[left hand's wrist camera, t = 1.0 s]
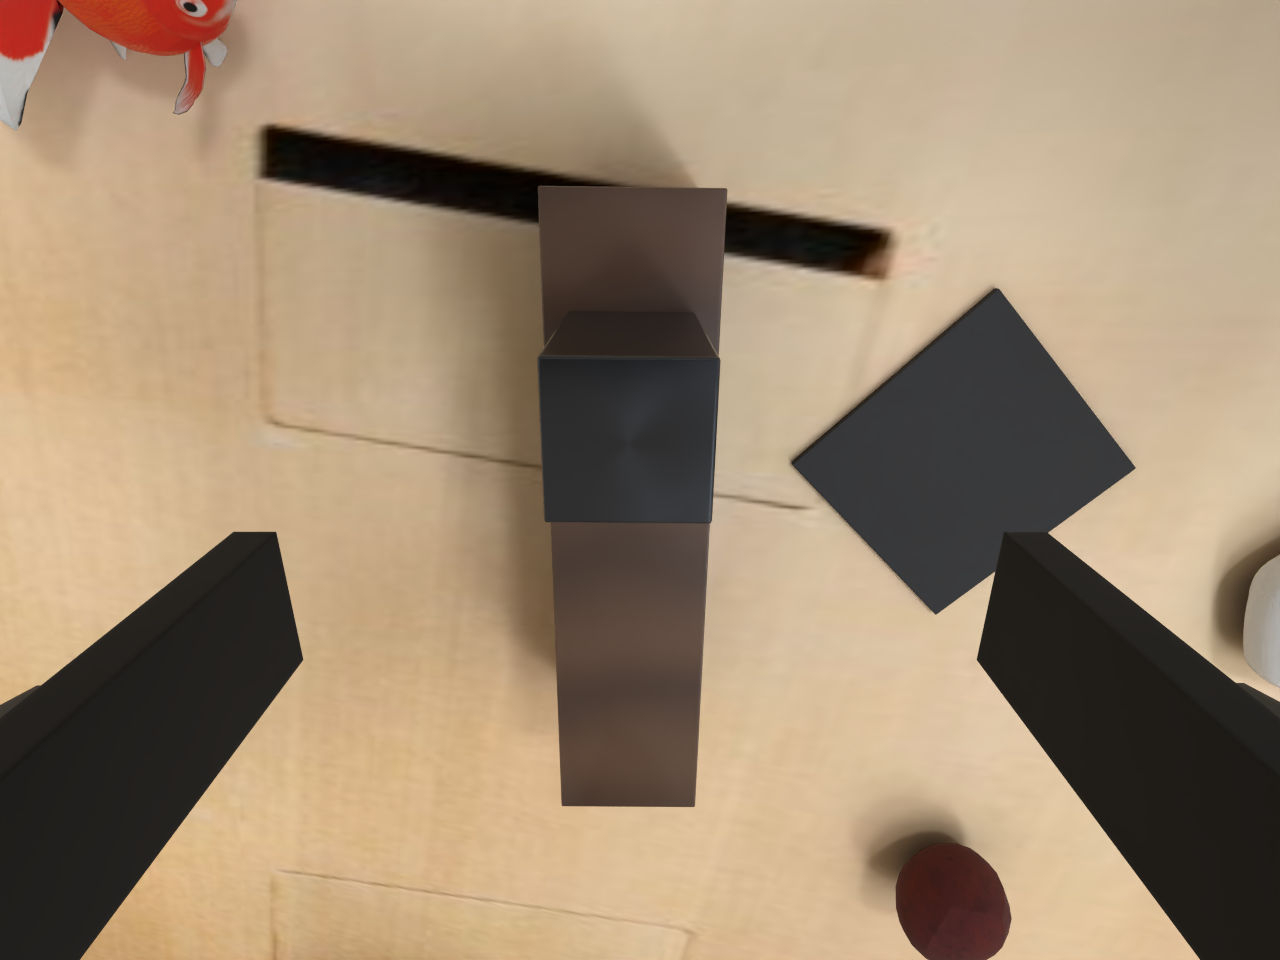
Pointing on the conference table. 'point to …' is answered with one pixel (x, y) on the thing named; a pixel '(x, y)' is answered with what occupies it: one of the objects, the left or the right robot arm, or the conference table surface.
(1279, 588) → the projector
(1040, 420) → the rubber mat
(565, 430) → the metal block
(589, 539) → the walnut case
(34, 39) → the fish
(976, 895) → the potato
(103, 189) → the conference table surface
